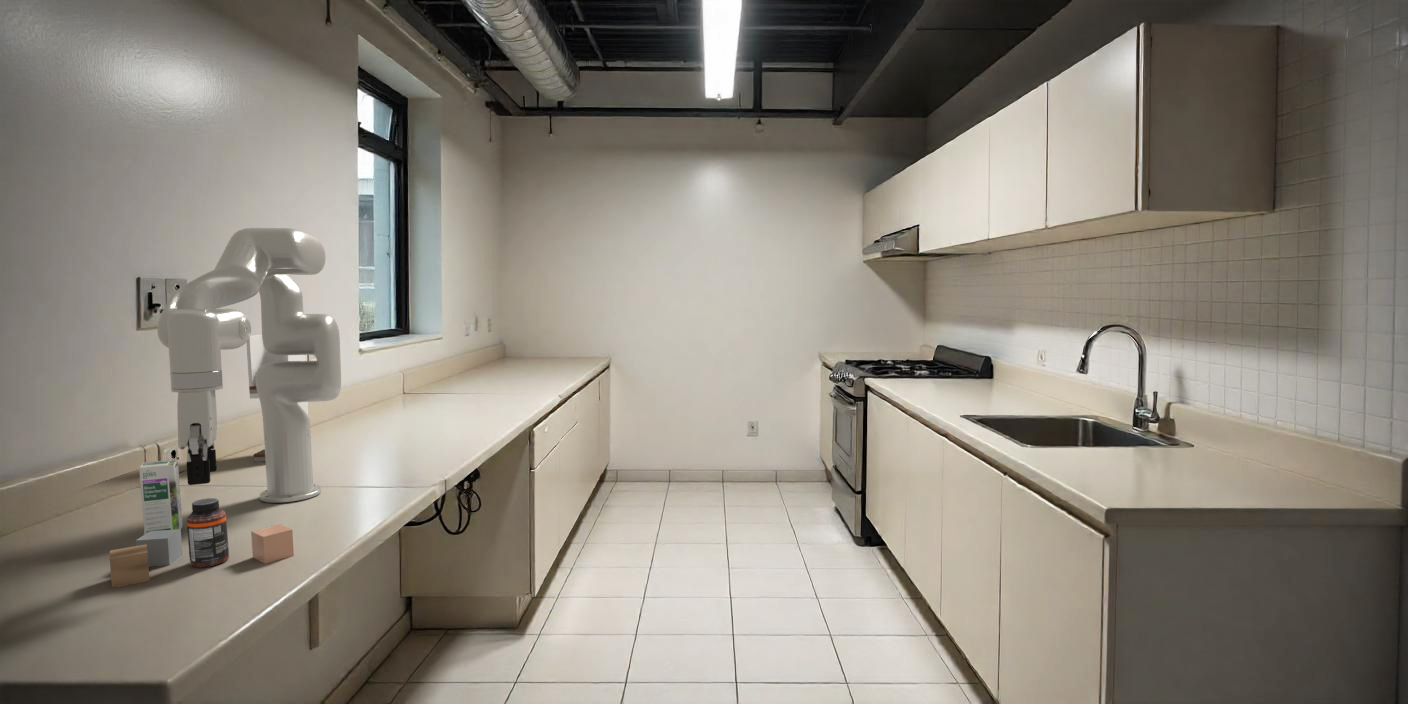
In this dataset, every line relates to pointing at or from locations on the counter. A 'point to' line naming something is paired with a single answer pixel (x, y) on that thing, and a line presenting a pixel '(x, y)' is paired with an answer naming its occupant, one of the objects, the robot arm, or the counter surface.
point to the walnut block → (129, 565)
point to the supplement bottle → (207, 533)
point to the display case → (255, 361)
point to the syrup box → (161, 495)
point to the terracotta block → (272, 543)
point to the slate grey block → (162, 546)
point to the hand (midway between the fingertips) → (202, 477)
